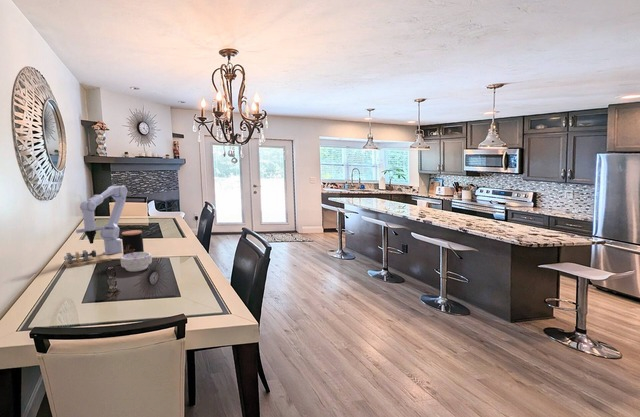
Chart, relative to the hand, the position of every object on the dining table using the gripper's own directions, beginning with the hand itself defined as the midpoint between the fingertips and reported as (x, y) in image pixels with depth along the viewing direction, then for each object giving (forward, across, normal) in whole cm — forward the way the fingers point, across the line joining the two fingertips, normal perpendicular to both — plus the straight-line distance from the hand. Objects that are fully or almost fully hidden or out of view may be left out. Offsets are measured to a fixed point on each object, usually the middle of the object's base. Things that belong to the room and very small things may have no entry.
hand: (91, 243), depth 238 cm
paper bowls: (+10, -10, +45) cm, 47 cm away
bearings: (+8, +9, +7) cm, 14 cm away
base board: (+9, +4, +8) cm, 13 cm away
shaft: (+7, +8, +7) cm, 13 cm away
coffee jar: (+10, -14, +29) cm, 34 cm away
